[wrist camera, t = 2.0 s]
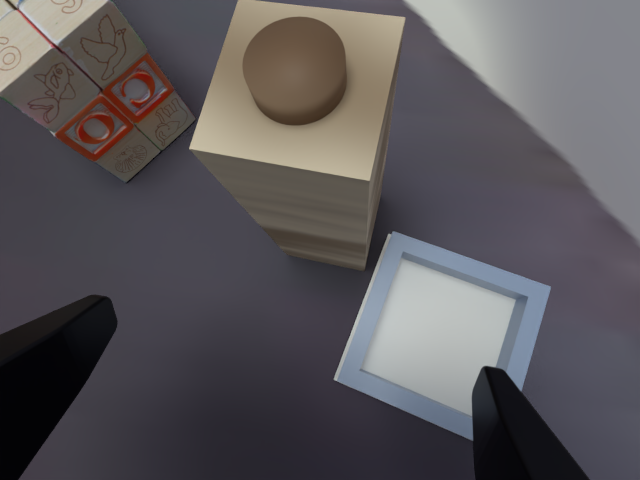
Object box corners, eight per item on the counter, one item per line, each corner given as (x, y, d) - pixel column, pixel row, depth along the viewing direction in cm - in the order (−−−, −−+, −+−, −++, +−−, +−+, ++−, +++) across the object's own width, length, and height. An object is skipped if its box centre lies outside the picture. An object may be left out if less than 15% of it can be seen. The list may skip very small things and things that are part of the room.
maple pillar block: (364, 271, 21) (370, 166, 8) (286, 254, 22) (173, 132, 9) (380, 195, 22) (409, -10, 9) (305, 181, 23) (229, -28, 10)
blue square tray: (488, 444, 19) (507, 460, 16) (334, 377, 20) (331, 383, 18) (533, 290, 20) (556, 284, 18) (387, 238, 22) (390, 226, 19)
